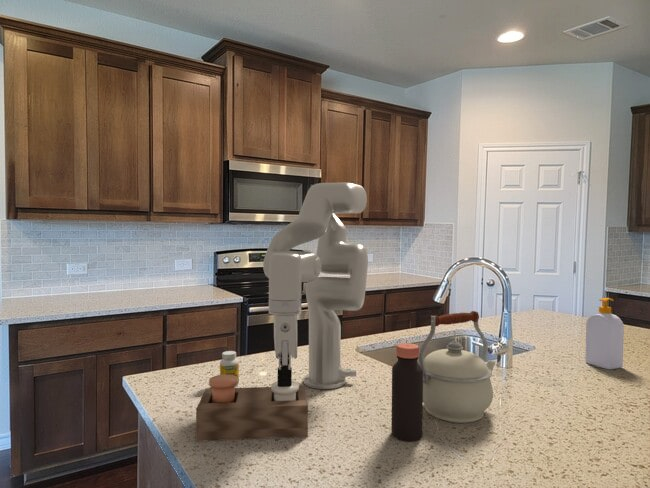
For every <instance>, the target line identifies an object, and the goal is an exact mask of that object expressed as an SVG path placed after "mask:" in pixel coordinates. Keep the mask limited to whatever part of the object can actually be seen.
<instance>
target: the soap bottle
mask: <svg viewBox="0 0 650 488" xmlns="http://www.w3.org/2000/svg"><path fill="white" fill-rule="evenodd" d="M598 301H600V302H602V305H601V306H598V313H597V314H593V315H590V316H588V318H587V320H586V322H585V324H586V325H585V327H586V328H585V357H584V359H585V361H584V362H585V363H586V364H589V365H592V366H594V367H600V368H602V369H605V370H609V371H611V370H615V369H621V368H623V366H624V365H623V364H624V332H625V331H624V330H625V327H624V326H625V325H624V322H623V320H621V318H620V317H619V316H618V315H616V314H613V313H612V307H611V306H608V301H611V302H612V301H615V300H614V299H613V298H610V297H602V298H600V299H599V300H598Z"/></svg>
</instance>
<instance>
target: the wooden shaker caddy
mask: <svg viewBox="0 0 650 488" xmlns="http://www.w3.org/2000/svg"><path fill="white" fill-rule="evenodd" d="M307 396H308V395H307V391H306V385H299V390H298V391H297V392H296V401H274V393H273V392H272V391H271V386H262V387H261V386H255V387H235V403H212V388H205V390H204V392H203V394H202V397H201V398H200V400H199V402H198V404H197V407H196V409H195V415H196V416H195V421H196V423H195V426H196V427H195V434H196V435H195V436H196V437H195V438H196V439H195V440H196V442H209V441H210V442H211V441H212V442H213V441H231V440H234V441H235V440H239V441H240V440H258V439H259V440H260V439H262V440H264V439H280V438H283V439H285V438H286V439H287V438H303V437H304V438H308V437H309V413H308V412H309V404H308V403H309V402H308V397H307Z"/></svg>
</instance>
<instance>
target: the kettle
mask: <svg viewBox="0 0 650 488" xmlns="http://www.w3.org/2000/svg"><path fill="white" fill-rule="evenodd" d="M479 319H480V314H479V311H476V310H472V311H470V312H459V313H458V312H457V313H456V312H454V313H446V314H442V315H440V316H438V315H436V314H435V315H430V331H429V333H428V335H427V337H426V338H425V340H424V342H423V344H422V345H421V348H419V358H418V363H419V365H420V366H421V367H422V369H423V405H424V408H425V410H426V412H427V413H428V414H429V415H431V416H432V417H434V418H436V419H438V420H442V421H444V422H450V423H456V424H457V423H458V424H466V423H467V424H468V423H473V422H477V421H480V420H481V419H482V418H483V417H484V414H485V411H486V410H487V409H488V408H490V406H491V404H492V403H493V400H494V389H493V384H492V382H491V378H492V375H493V371H494V367H495V365H496V361H494V360H490V359H489V360H487V356H488V349H489V348H488V347H489V345H488V341H487V337H485V335H484V333H483V332H482V330H481V329H480V327H479ZM471 321H472V322H473V327H474V329H475V331H476V332H477V334H478V335H479V337H480V338H481V340H482V353H481V357H480V356H479V355H477V354H475V353H473V352H470V351H467V350H464V349H463V348H464V347H463V345H462V344H461V343H460V342H459V341H457V340H453V341H450V342H449V343H448V344H447V345H446V348H442V349H437V350H433V351H432V352H430V353H428V354H427V355H426V356H425V357H424V355H425V352H426V349H427V348H428V346H429V344H430V343H431V341H432V339H433V337H434V335H435V332H436V327H438V326H440V325H447V326H448V325H449V326H450V325H456V324H465V323H468V322H471ZM486 360H487V361H486Z"/></svg>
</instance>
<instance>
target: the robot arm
mask: <svg viewBox="0 0 650 488" xmlns="http://www.w3.org/2000/svg"><path fill="white" fill-rule="evenodd" d="M367 197H368V195H367V191H366V190H365V188H364V187H363V186H362V185H361V184H356V183H351V182H346V181H345V182H343V181H342V182H320V183H314V184H313V185H312V186H310V187H309V189H308V190H307V192H306V195H305V198H304V200H303V203H302V206H301V208H300V210H299V213H298V217H297V218H296V219H294V220H293V221H292V222H290V223H289V224H287V225H286V226H284V227H283V228H282V229H281V230H279V231H277V233H275V235H274V236H273V237H272V239H271V241H270V243H269V245H268V247H267V250H266V253H265V255H264V259H263V266H262V267H263V272H264V275H265V277H267V279H268V314H269V315H272V316H273V340H274V341H273V342H274V352H275V358H276V359H277V360H278V367H277V381H278V387H290V386H291V385H292V381H293V380H292V375H293V373H292V369H293V367H292V364H291V363H292V361H291V360H292V358H294V360H295V359H297V358H298V316H297V315H301V314H302V283H306V287H305V296H306V297H305V299H306V303H307V311H308V374H306V375H305V376H304V377H303V384H304V386H306V387H309V388H312V389H317V390H332V389H337V388H340V387H342V386H344V385H345V384H346V378H347V377H349V378H350V377H351V378H352V377H356V378H357V370H356V369H351V367H349V368H343V367H342V364H341V353H342V351H341V346H342V345H341V342H342V340H341V338H342V337H341V336H342V335H341V334H342V333H341V332H342V325H341V321H340V318H339V317H338V314H336V312H335V311H338V310H339V311H349V312H350V311H353V312H354V311H355V312H356V311H359V310H361V309H362V308H363V306H364V303H365V297H366V288H367V278H368V267H369V257H368V256H369V255H368V252H367V248H366V247H365V246H364V245H363V244H361V243H347V234H348V233H347V232H348V231H347V227H346V226H345V225H344V223H343V222H342V221H341V220H340V218H339V217H338V216H337V214H361V213H363V212H364V211H365V209H366V207H367V203H368V202H367V201H368V198H367ZM317 239H318V241H317V248H316V253H314V252H312V251H307V250H306V251H305V250H304V251H303V250H301V251H300V250H292V249H293V248H295V247H298V246H300V245H303V244H305V243H306V244H307V243H309V242H312V241H314V240H317ZM321 273H322V274H327V275H341V276H343V275H344V276H350V277H337V276H320V274H321Z"/></svg>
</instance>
